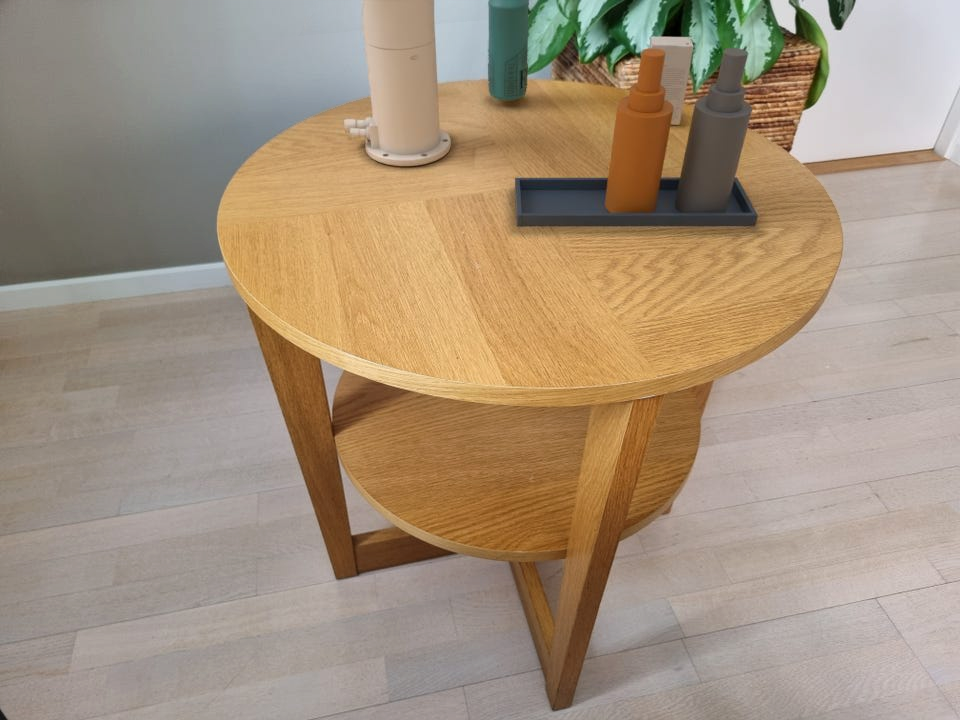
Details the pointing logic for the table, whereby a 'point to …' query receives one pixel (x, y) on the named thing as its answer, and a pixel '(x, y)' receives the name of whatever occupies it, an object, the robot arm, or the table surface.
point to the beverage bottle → (508, 48)
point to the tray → (587, 208)
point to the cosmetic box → (675, 70)
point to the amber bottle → (640, 140)
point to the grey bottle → (715, 140)
